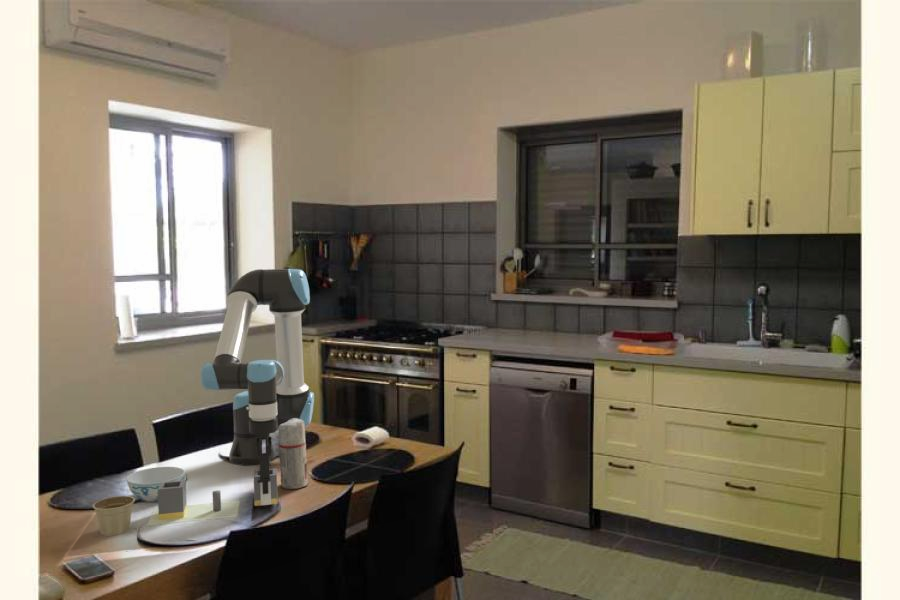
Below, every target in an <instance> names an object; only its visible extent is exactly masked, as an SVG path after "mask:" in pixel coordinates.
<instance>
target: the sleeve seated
mask: <svg viewBox="0 0 900 600" xmlns="http://www.w3.org/2000/svg"><path fill="white" fill-rule="evenodd" d="M157 505H158V509H159V520H164V519H174V518H184V515H185V513H186V510H187V505H188V504H187V484H186V479H183V480H180V481H168V482H161V484H160V486H159V488H158V501H157Z"/></svg>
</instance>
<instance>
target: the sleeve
mask: <svg viewBox="0 0 900 600" xmlns="http://www.w3.org/2000/svg"><path fill="white" fill-rule="evenodd" d="M271 468H272V469H269V470H270V483H271V504H270V505H277V504H278V475H277V473H278V472H277V467H271ZM258 480H260V469H254V471H253V495H254V496H253V497H254V501H253V503H254V506H255V507H257V506H262V505H261V495H260V483H258Z"/></svg>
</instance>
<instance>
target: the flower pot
mask: <svg viewBox="0 0 900 600" xmlns="http://www.w3.org/2000/svg"><path fill="white" fill-rule="evenodd" d="M135 501H136V497H135V496H134V497H133V496H129V495H115V496H110V497H106V498H101V499H100V500H97V501H96V502H94V503H93V504H92V508H93V509H94V512H95V514H96V516H97V517H96V518H97V522H98V526H99V532H100V534H101V535H102V536H108V537H109V536H117V535H122V534H124V533H127V532H128V531H129V530H130V527H131V518H132V510H133V507H134V503H135Z"/></svg>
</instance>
